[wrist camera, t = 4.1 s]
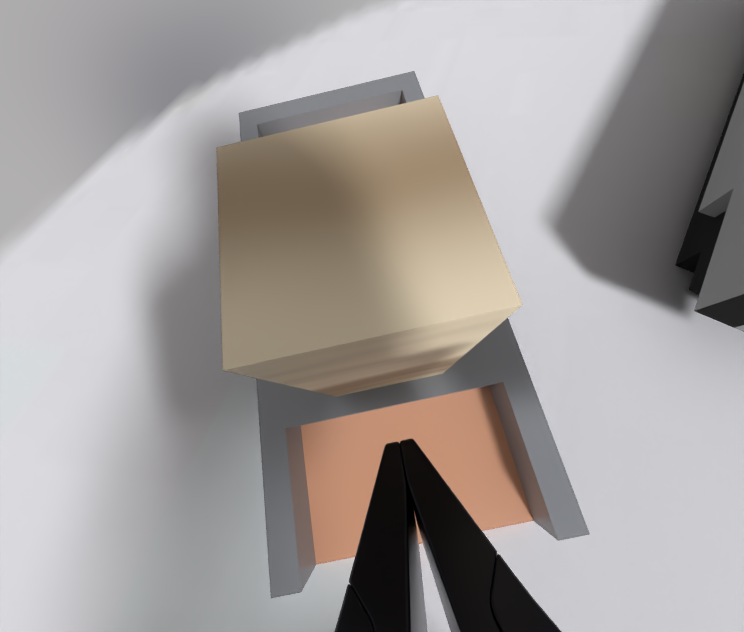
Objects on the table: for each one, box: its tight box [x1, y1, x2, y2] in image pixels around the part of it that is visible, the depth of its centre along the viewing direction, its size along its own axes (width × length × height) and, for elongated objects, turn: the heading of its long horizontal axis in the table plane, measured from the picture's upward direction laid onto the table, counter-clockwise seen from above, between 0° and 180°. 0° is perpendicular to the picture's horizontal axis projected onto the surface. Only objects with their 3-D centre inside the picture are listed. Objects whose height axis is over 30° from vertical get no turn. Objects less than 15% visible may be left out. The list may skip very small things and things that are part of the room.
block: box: [217, 96, 523, 396], centre depth 10 cm, size 5×5×9 cm
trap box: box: [239, 71, 589, 598], centre depth 17 cm, size 27×12×2 cm, turn 11°
